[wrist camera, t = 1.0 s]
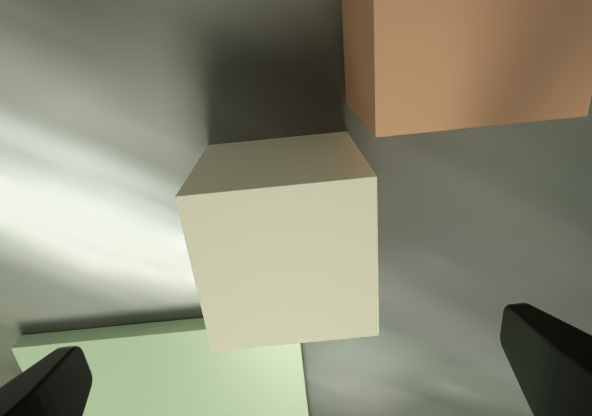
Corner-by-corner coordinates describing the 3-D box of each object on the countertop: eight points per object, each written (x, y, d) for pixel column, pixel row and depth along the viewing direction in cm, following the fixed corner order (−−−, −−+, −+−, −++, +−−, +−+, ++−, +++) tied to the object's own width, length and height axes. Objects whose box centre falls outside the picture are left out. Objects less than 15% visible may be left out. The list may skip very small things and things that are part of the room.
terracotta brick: (504, -85, 12) (640, -155, 7) (488, 88, 14) (587, 115, 9) (337, -67, 12) (371, -126, 8) (345, 102, 14) (375, 137, 10)
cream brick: (346, 131, 15) (376, 176, 10) (351, 251, 17) (378, 335, 12) (208, 144, 15) (175, 196, 10) (230, 263, 17) (211, 351, 12)
